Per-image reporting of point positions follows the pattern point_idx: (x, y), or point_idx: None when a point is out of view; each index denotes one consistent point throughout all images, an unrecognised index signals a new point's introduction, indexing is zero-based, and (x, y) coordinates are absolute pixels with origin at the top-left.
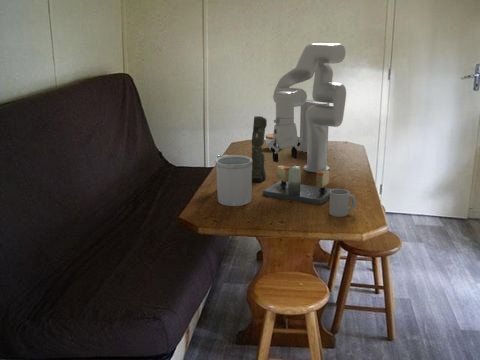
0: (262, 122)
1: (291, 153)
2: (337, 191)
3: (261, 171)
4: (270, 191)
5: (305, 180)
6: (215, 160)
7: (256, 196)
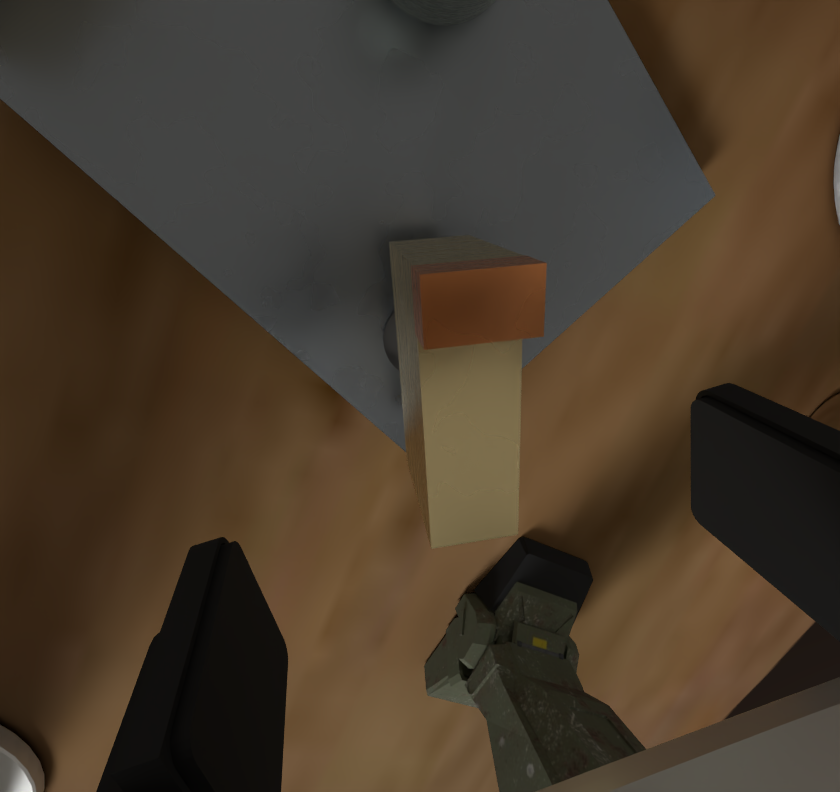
0: None
1: (281, 724)
2: None
3: (517, 655)
4: (662, 138)
5: (102, 524)
6: None
7: (748, 181)
